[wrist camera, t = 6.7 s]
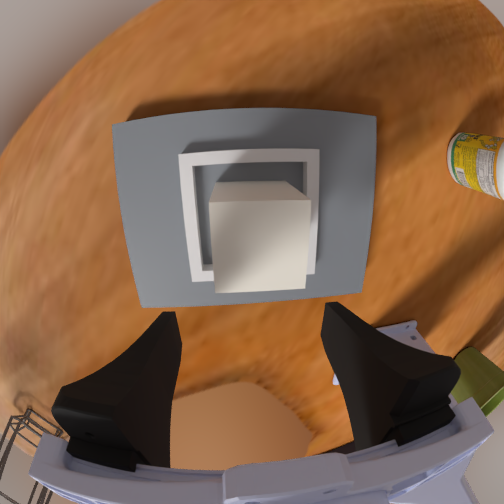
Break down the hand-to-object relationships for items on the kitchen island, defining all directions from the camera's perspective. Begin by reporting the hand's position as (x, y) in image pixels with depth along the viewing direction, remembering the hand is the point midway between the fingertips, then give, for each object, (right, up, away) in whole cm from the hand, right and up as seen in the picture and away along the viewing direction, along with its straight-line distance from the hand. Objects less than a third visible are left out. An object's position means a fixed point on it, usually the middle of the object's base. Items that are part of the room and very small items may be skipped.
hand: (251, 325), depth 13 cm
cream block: (0, +6, +5) cm, 8 cm away
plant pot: (+35, -15, +20) cm, 42 cm away
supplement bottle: (+21, +13, +7) cm, 25 cm away
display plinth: (0, +7, +7) cm, 10 cm away
